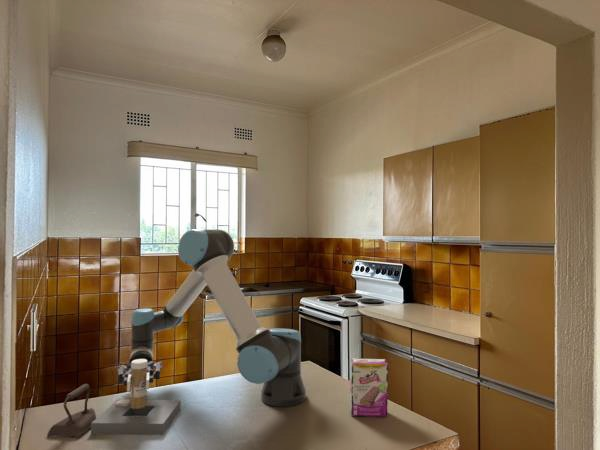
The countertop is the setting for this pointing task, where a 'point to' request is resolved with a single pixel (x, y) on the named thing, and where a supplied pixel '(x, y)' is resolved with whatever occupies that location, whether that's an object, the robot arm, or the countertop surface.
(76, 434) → the clothes iron
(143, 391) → the sprinkles bottle
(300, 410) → the countertop surface
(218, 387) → the countertop surface
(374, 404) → the candy bar box
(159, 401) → the socket plate
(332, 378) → the countertop surface
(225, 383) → the countertop surface
